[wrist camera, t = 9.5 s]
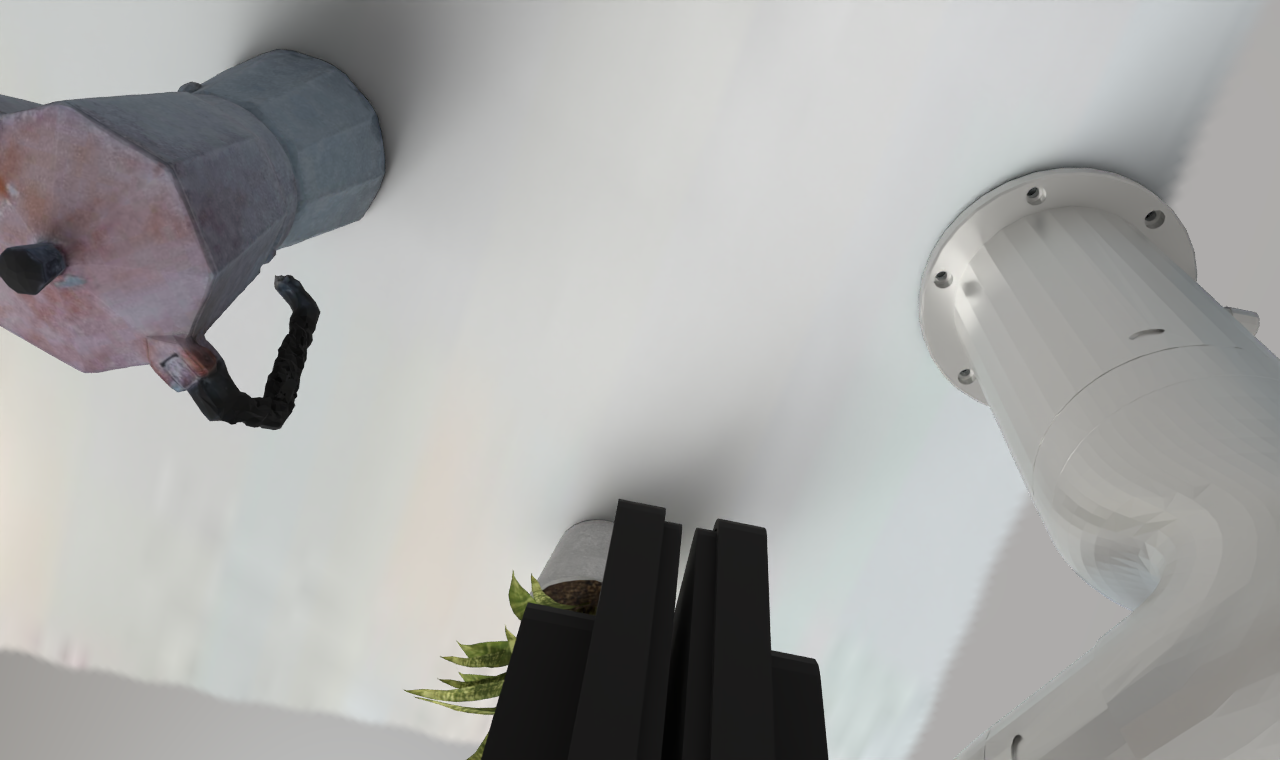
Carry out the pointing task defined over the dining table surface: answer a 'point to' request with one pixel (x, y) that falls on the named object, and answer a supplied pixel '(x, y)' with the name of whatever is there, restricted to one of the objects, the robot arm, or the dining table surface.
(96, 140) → the moka pot
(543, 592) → the house plant
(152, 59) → the dining table surface
